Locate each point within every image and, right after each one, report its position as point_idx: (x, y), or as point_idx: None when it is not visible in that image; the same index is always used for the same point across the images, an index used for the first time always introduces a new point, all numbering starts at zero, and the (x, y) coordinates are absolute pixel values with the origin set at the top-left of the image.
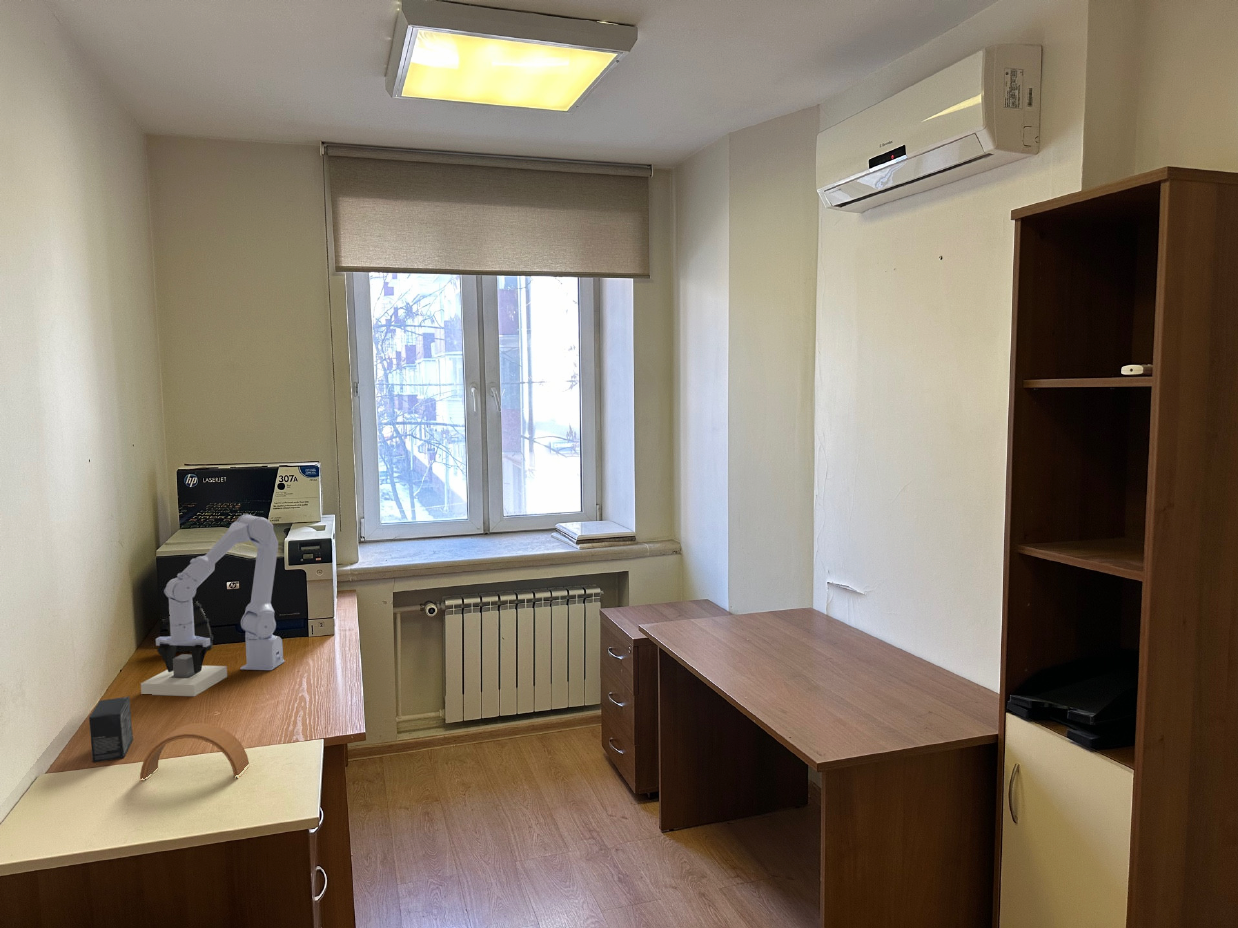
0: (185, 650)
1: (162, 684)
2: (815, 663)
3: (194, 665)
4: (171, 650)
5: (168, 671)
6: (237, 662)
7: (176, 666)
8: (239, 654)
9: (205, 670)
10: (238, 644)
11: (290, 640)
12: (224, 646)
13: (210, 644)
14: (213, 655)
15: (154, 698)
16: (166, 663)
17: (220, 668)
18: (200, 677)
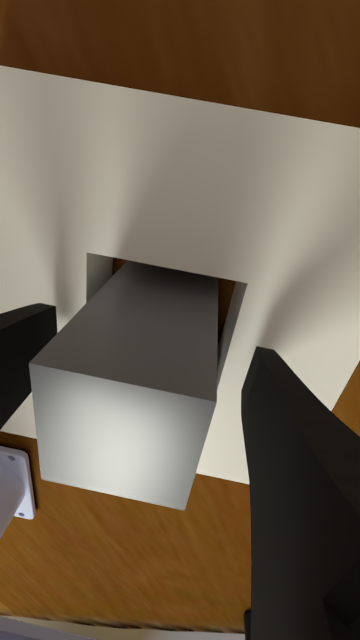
0: None
1: (241, 108)
2: None
3: (1, 322)
4: (279, 559)
5: (271, 349)
6: (91, 512)
7: (181, 338)
8: (128, 564)
9: None
10: (176, 619)
11: (46, 608)
12: (211, 617)
13: (246, 634)
14: (212, 574)
15: (278, 36)
16: (297, 388)
17: None
18: (11, 264)
